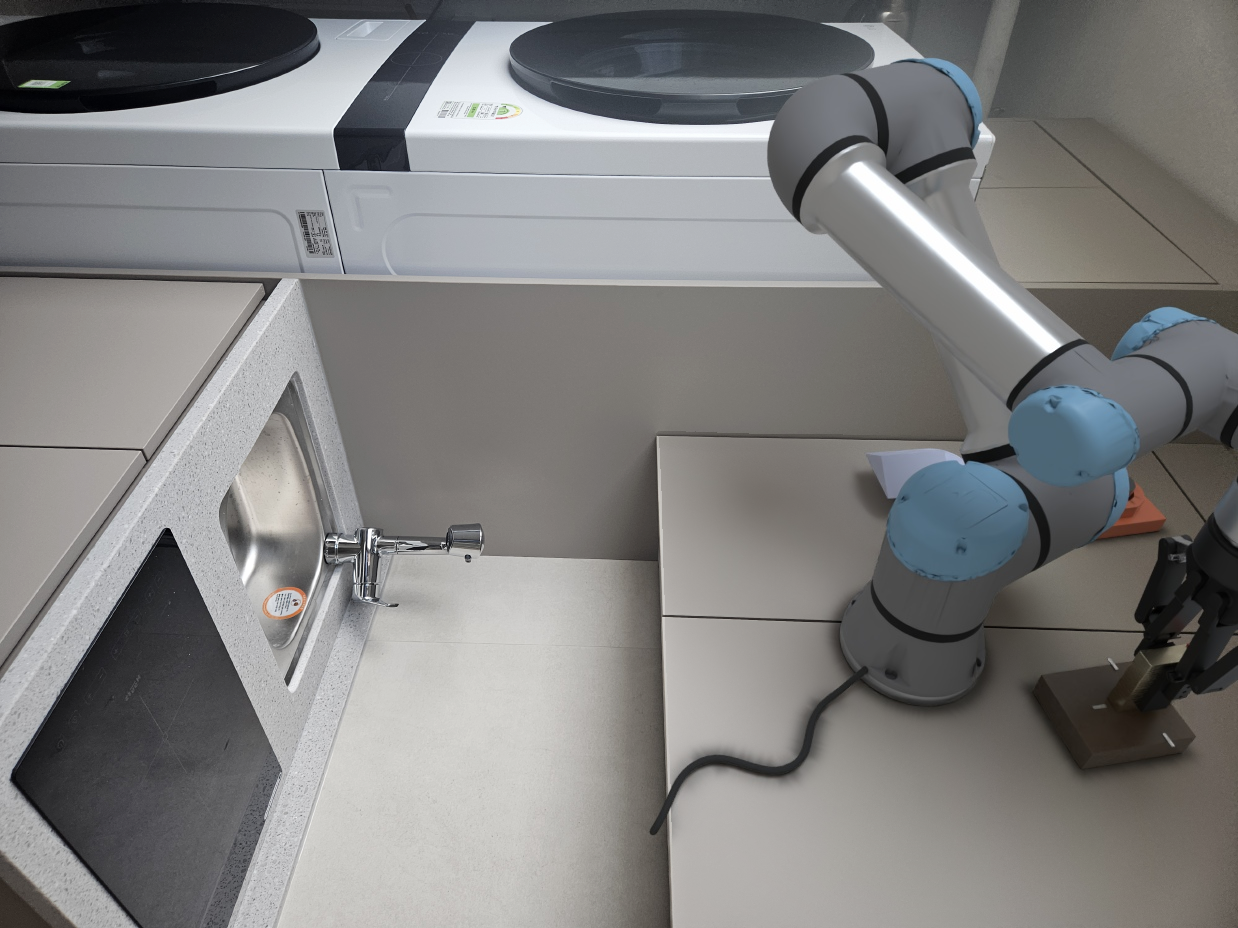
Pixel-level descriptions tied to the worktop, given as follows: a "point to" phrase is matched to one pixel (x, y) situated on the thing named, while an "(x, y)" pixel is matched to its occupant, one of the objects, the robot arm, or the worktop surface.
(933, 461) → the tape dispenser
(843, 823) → the worktop surface
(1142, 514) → the button box
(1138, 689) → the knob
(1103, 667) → the panel
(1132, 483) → the button
